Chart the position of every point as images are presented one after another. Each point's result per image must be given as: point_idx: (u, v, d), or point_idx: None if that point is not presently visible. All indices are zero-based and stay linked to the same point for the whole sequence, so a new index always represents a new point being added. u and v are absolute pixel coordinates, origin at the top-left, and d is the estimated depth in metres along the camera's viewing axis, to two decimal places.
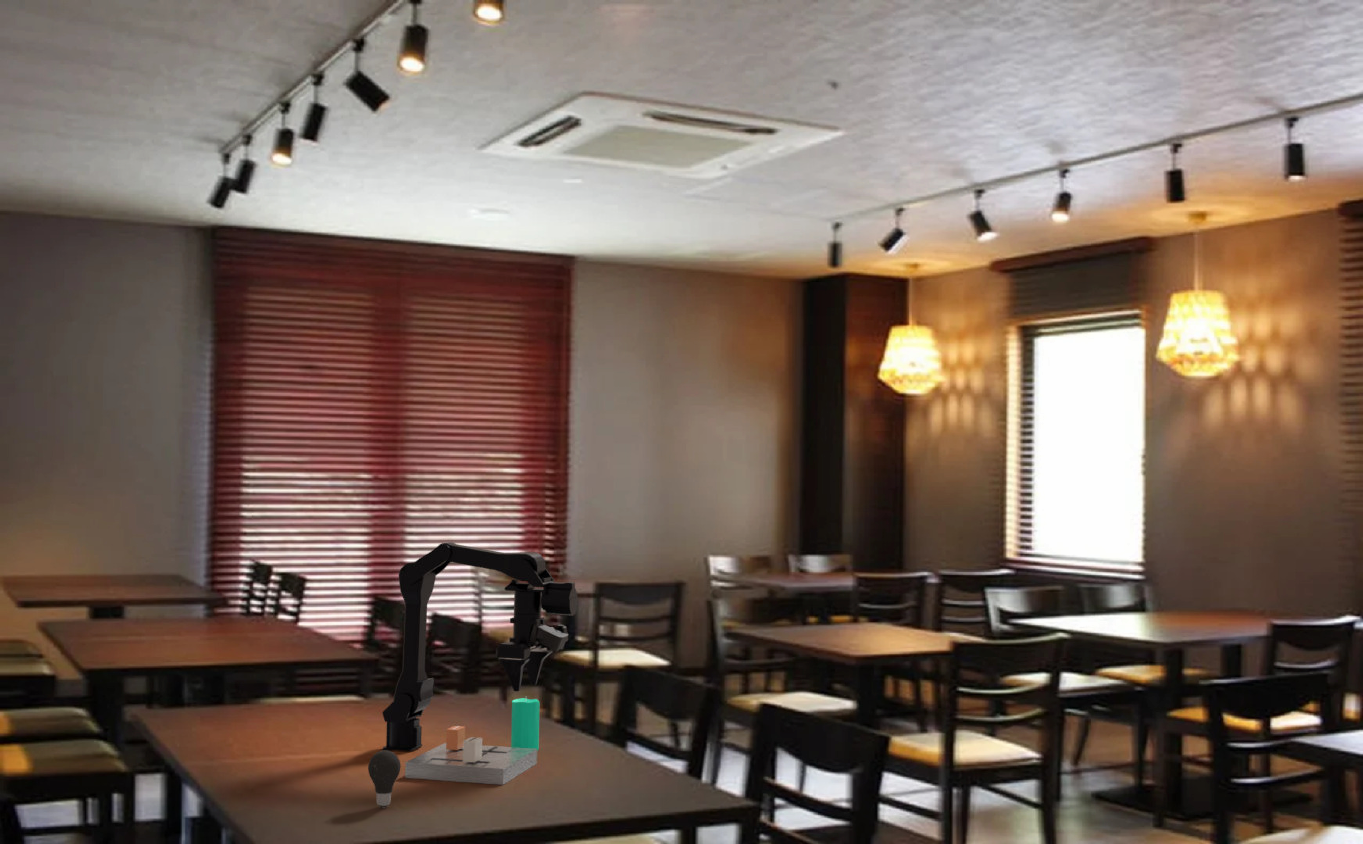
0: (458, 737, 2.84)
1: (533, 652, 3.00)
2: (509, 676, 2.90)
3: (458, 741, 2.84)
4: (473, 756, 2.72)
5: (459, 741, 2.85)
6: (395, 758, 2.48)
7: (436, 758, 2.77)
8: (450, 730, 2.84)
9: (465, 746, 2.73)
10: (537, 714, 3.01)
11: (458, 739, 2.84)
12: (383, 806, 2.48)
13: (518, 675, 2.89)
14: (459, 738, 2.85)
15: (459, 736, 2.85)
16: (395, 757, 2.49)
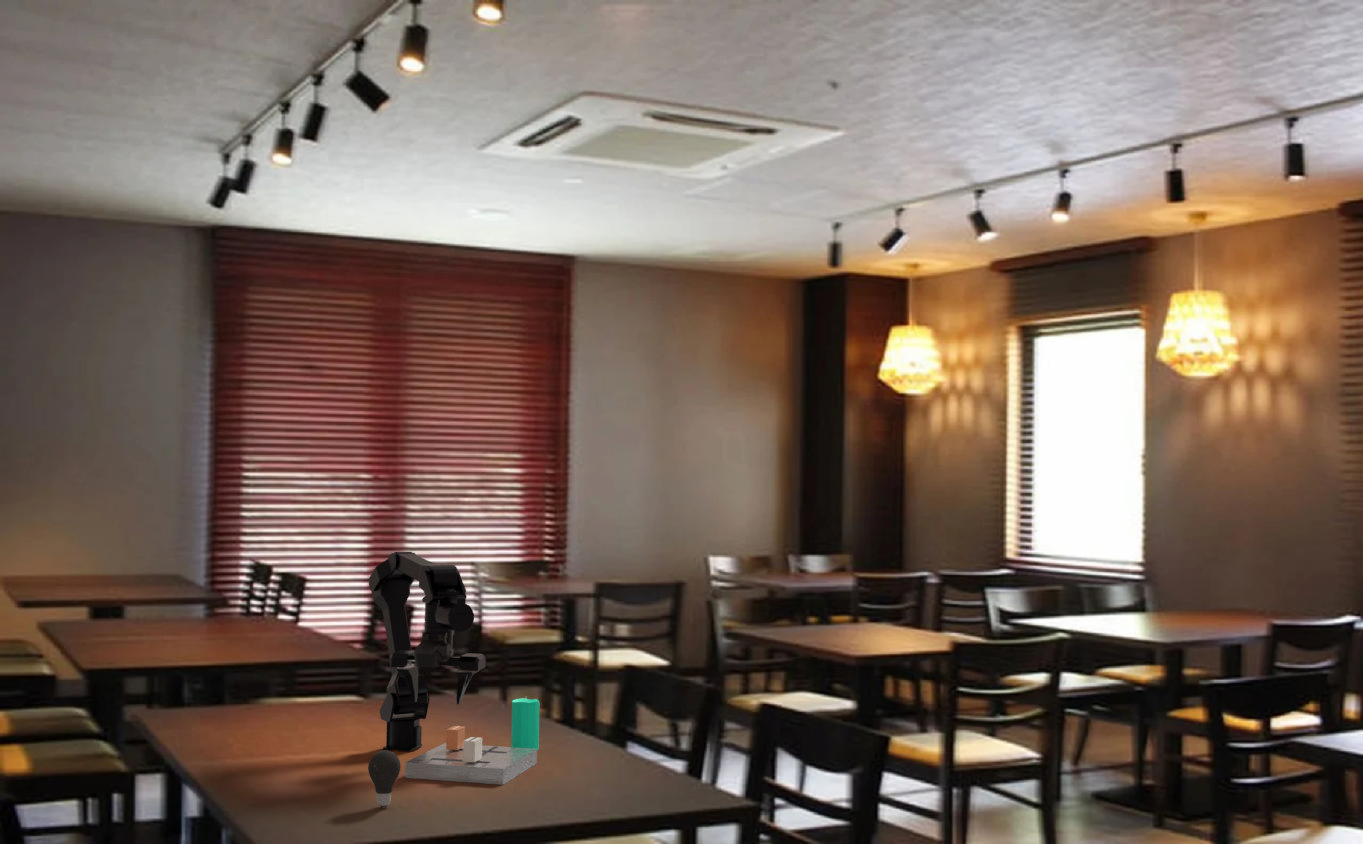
0: (458, 737, 2.84)
1: None
2: None
3: (458, 741, 2.84)
4: (473, 756, 2.72)
5: (459, 741, 2.85)
6: (395, 758, 2.48)
7: (436, 758, 2.77)
8: (450, 730, 2.84)
9: (465, 746, 2.73)
10: (537, 714, 3.01)
11: (458, 739, 2.84)
12: (383, 806, 2.48)
13: None
14: (459, 738, 2.85)
15: (459, 736, 2.85)
16: (395, 757, 2.49)
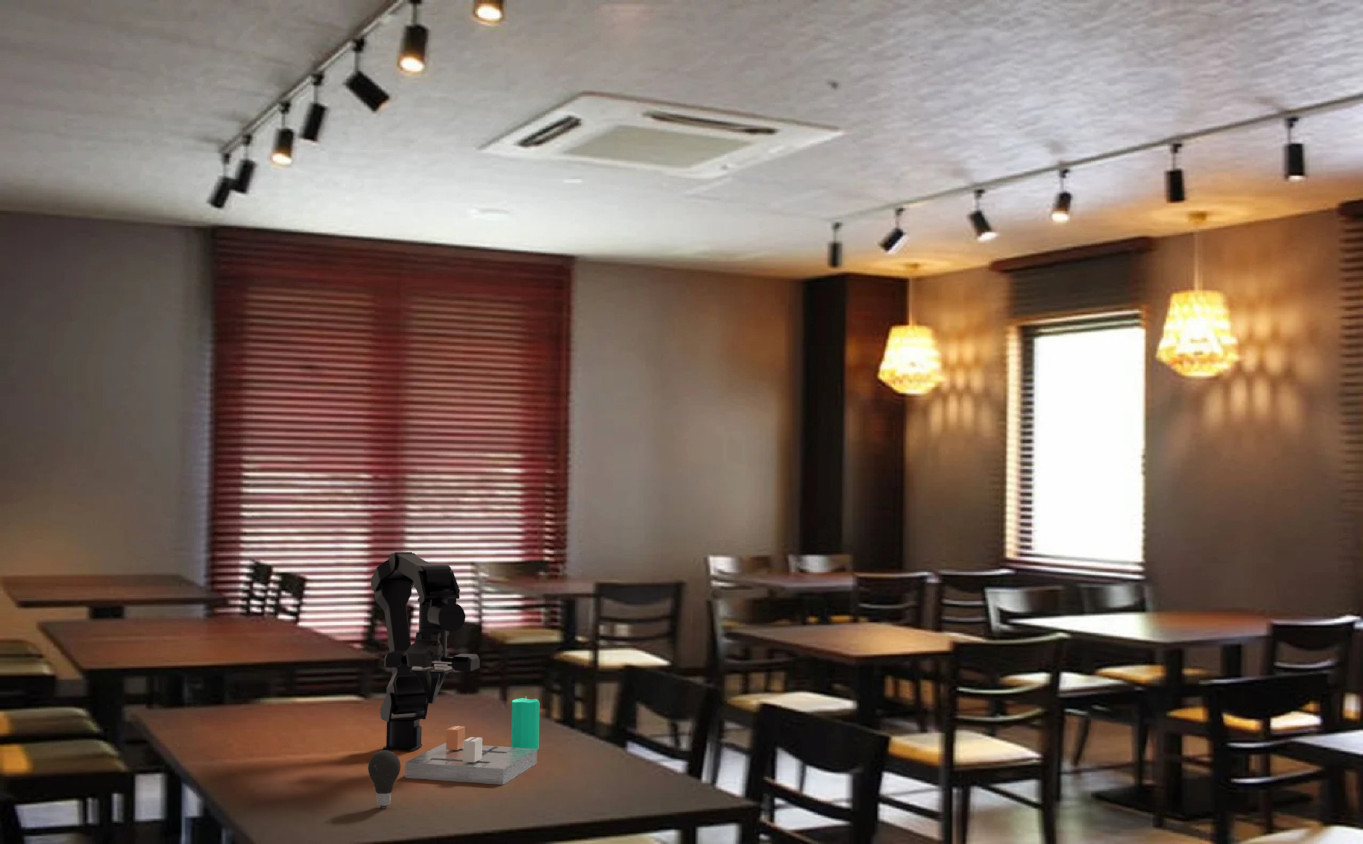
0: (458, 737, 2.84)
1: None
2: None
3: (458, 741, 2.84)
4: (473, 756, 2.72)
5: (459, 741, 2.85)
6: (395, 758, 2.48)
7: (436, 758, 2.77)
8: (450, 730, 2.84)
9: (465, 746, 2.73)
10: (537, 714, 3.01)
11: (458, 739, 2.84)
12: (383, 806, 2.48)
13: None
14: (459, 738, 2.85)
15: (459, 736, 2.85)
16: (395, 757, 2.49)
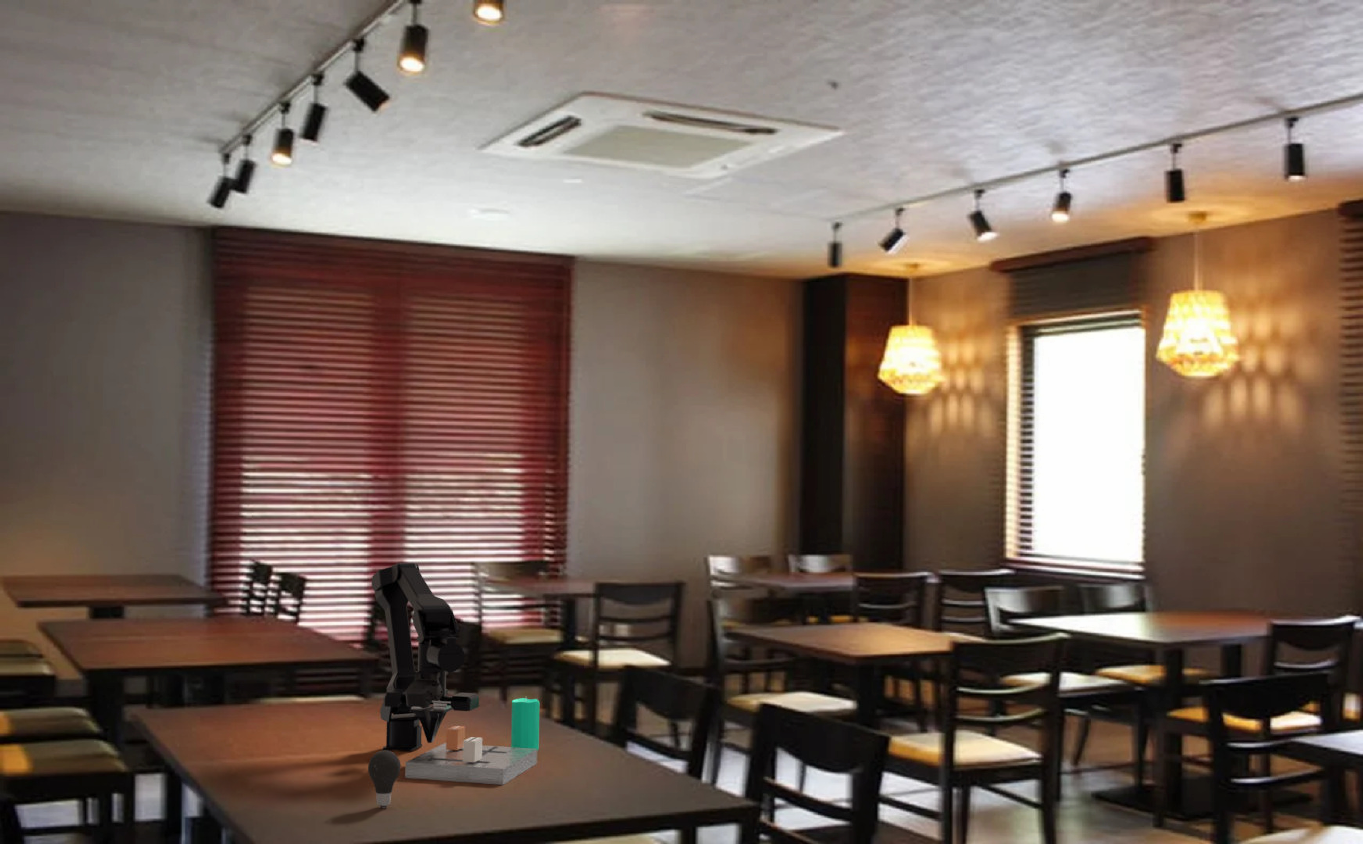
0: (458, 737, 2.84)
1: None
2: None
3: (458, 741, 2.84)
4: (473, 756, 2.72)
5: (459, 741, 2.85)
6: (395, 758, 2.48)
7: (436, 758, 2.77)
8: (450, 730, 2.84)
9: (465, 746, 2.73)
10: (537, 714, 3.01)
11: (458, 739, 2.84)
12: (383, 806, 2.48)
13: None
14: (459, 738, 2.85)
15: (459, 736, 2.85)
16: (395, 757, 2.49)
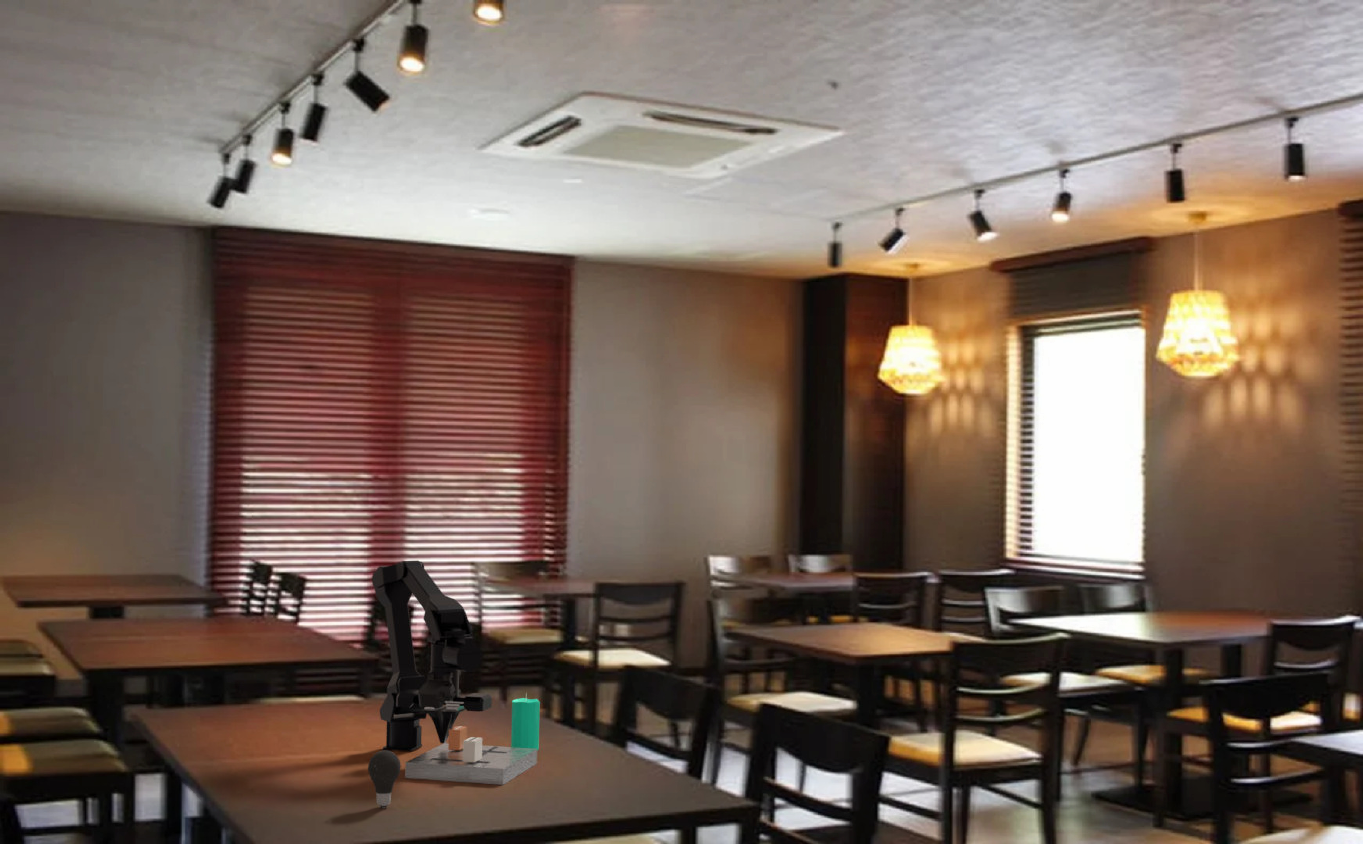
0: (460, 737, 2.84)
1: None
2: None
3: (461, 741, 2.84)
4: (473, 756, 2.72)
5: (462, 742, 2.85)
6: (395, 758, 2.48)
7: (436, 758, 2.77)
8: (452, 730, 2.84)
9: (465, 746, 2.73)
10: (537, 714, 3.01)
11: (460, 739, 2.84)
12: (383, 806, 2.48)
13: None
14: (461, 738, 2.85)
15: (461, 736, 2.85)
16: (395, 757, 2.49)
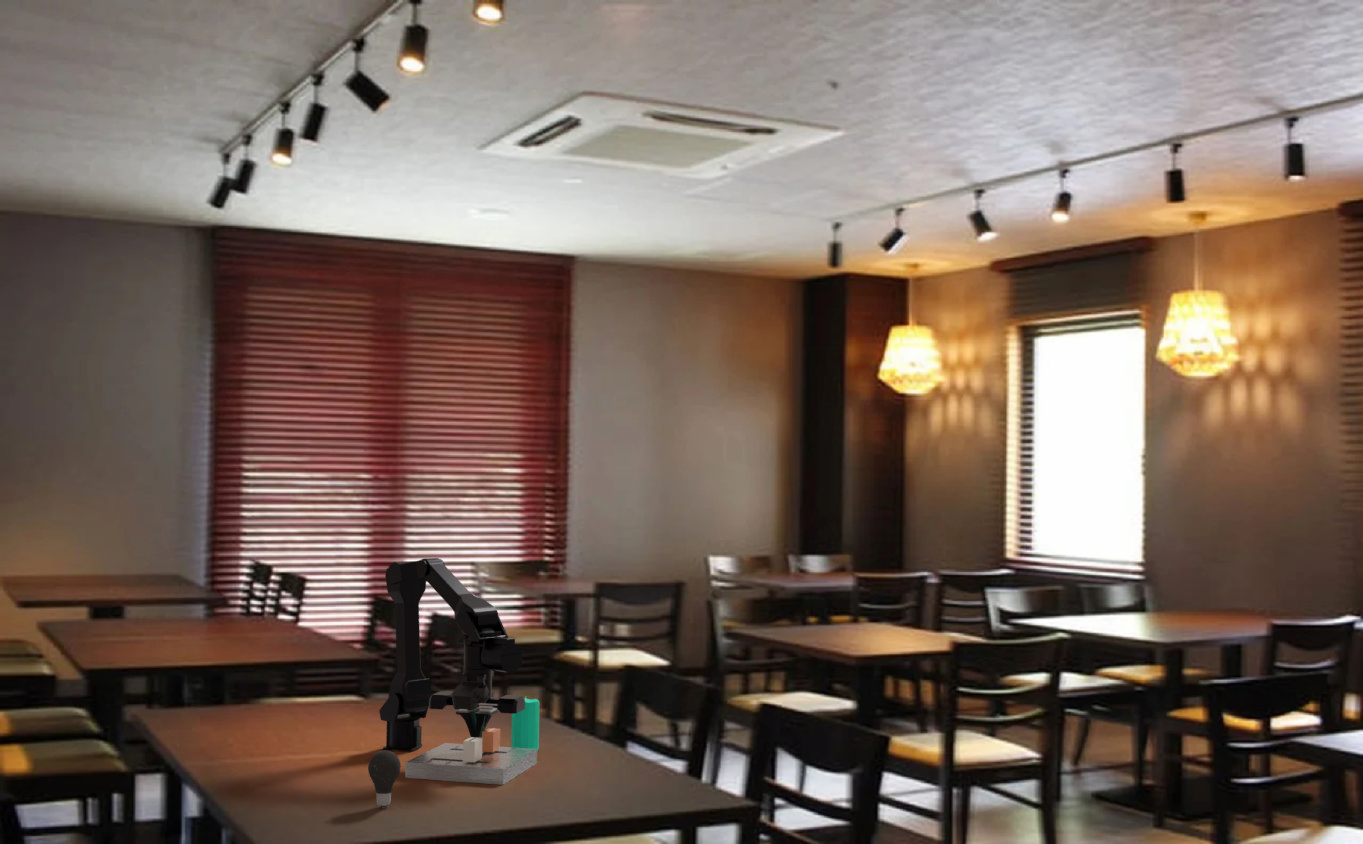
0: (494, 740, 2.83)
1: None
2: None
3: (494, 743, 2.83)
4: (473, 756, 2.72)
5: (495, 744, 2.83)
6: (395, 758, 2.48)
7: (436, 758, 2.77)
8: (486, 732, 2.83)
9: (465, 746, 2.73)
10: (537, 714, 3.01)
11: (493, 741, 2.82)
12: (383, 806, 2.48)
13: None
14: (494, 740, 2.83)
15: (494, 738, 2.83)
16: (395, 757, 2.49)
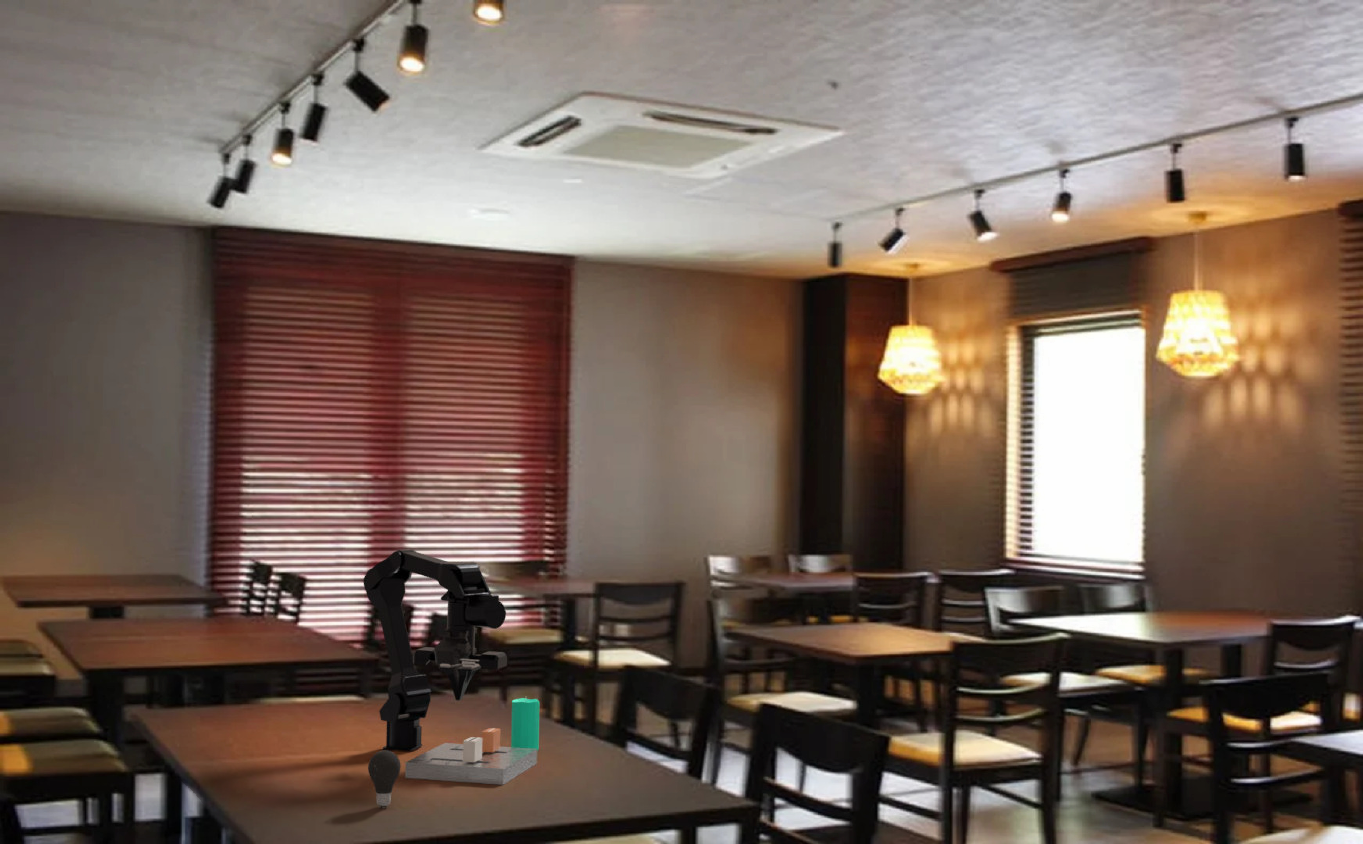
0: (494, 740, 2.83)
1: None
2: None
3: (494, 743, 2.83)
4: (473, 756, 2.72)
5: (495, 744, 2.83)
6: (395, 758, 2.48)
7: (436, 758, 2.77)
8: (486, 732, 2.83)
9: (465, 746, 2.73)
10: (537, 714, 3.01)
11: (493, 741, 2.82)
12: (383, 806, 2.48)
13: None
14: (495, 740, 2.83)
15: (494, 738, 2.83)
16: (395, 757, 2.49)
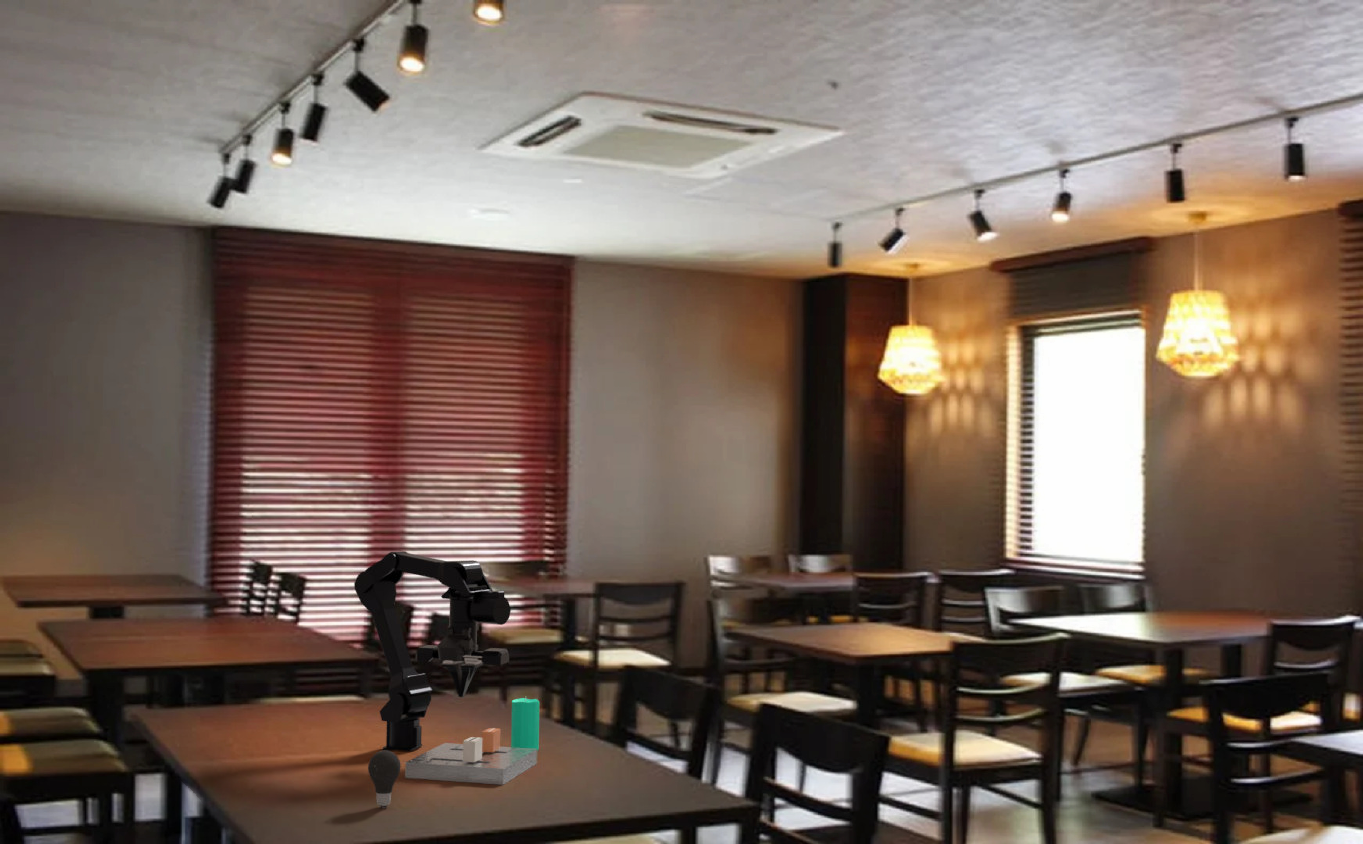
0: (494, 740, 2.83)
1: None
2: None
3: (494, 743, 2.83)
4: (473, 756, 2.72)
5: (495, 744, 2.83)
6: (395, 758, 2.48)
7: (436, 758, 2.77)
8: (486, 732, 2.83)
9: (465, 746, 2.73)
10: (537, 714, 3.01)
11: (493, 741, 2.82)
12: (383, 806, 2.48)
13: None
14: (495, 740, 2.83)
15: (494, 738, 2.83)
16: (395, 757, 2.49)
